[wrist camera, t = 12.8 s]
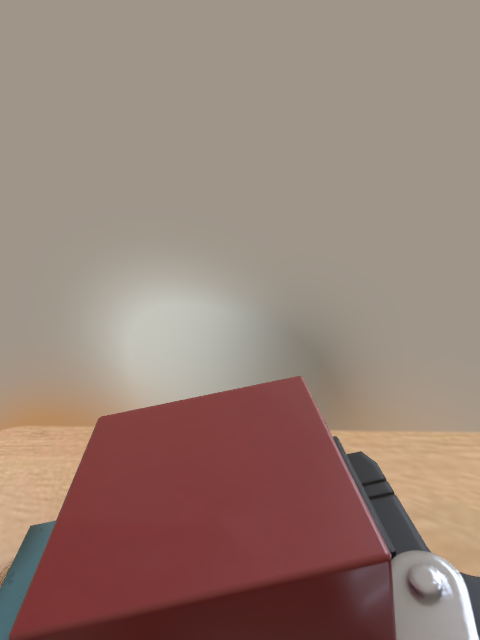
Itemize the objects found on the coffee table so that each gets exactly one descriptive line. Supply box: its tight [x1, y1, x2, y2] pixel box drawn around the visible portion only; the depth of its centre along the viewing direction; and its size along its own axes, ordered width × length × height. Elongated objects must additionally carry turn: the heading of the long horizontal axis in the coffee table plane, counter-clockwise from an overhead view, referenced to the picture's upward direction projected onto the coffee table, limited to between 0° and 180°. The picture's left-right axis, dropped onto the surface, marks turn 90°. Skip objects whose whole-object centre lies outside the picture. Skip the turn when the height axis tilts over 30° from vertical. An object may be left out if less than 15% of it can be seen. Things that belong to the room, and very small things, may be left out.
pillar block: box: [9, 376, 397, 640], centre depth 9 cm, size 5×5×9 cm
